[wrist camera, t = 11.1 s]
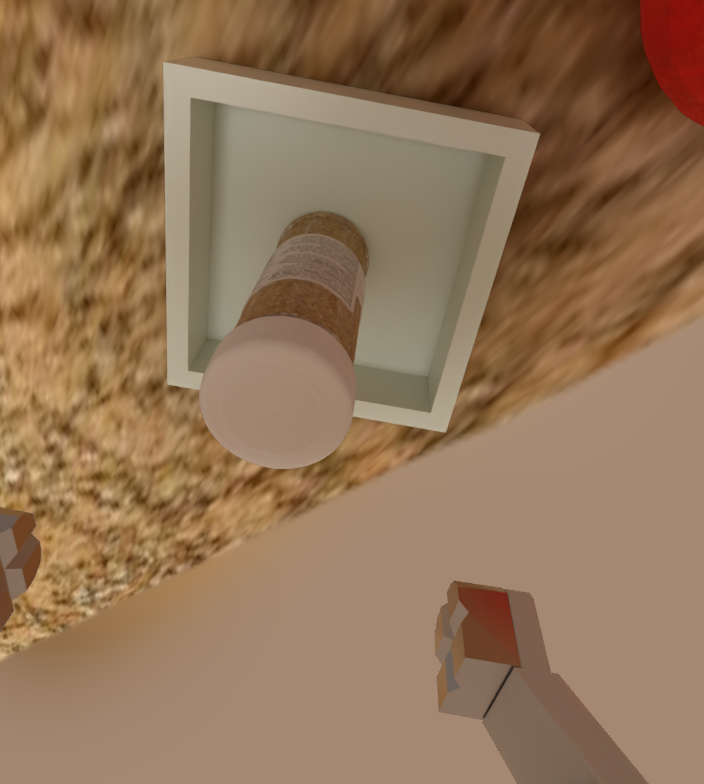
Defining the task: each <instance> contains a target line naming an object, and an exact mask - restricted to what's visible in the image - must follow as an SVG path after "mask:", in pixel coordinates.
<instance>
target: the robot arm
mask: <svg viewBox="0 0 704 784" xmlns="http://www.w3.org/2000/svg"><path fill="white" fill-rule="evenodd" d="M35 527H36V523H35V519H34V515H33V514H32V513H28V512H23V511H18V510H12V509H7V508H2V507H0V631H1V630H2V628H3V627H4V625H5V624H6V622H7V621H8V619H9V618H10V616H11V614H12V613H13V611H14V609H13V602H12V599H13V598H15V597H17V596H18V595H20V594H22V593H23V592H25V591H27V589H28V588H29V586H30V585H31V583H32V581H33V580H34V578H35V576H36V573H37V570H38V567H39V565H40V562H41V546H40V541H39V540H37V539H36V538H35V537H34V536H33V535H32V534H31V533H32V531H33V530H34V528H35ZM447 597H448V603H447V604H445V605H443V606H442V607H441V609H440V612H439V615H438V618H437V624H436V629H435V655H436V657H437V658H438V659H439V661H440V662H441V664H442V666H441V669H440V671H439V673H438V675H437V688H438V689H437V690H438V705H439V712H442V713H448V714H453V715H459V716H465V717H470V718H475V719H480V720H483V722H482V723H483V724H484V726H485V728H486V729H487V731H488V733H489V735H490V737H491V738H492V740H493V742H494V744H495V745H496V747H497V749H498V751H499V752H500V754H501V756H502V758H503V759H504V761H505V763H506V765H507V767H508V768H509V770H510V772H511V774H512V775H513V777H514V779H515V781H516V782H517V784H648V782H647V781H646V780H645V779H644V777H643V776H642V775H641V774H640V773H639V771H638V770H637V769H636V768H635V767H634V765H633V764H632V763H631V762H630V760H629V759H628V758H627V757H626V756H625V754H624V753H623V752H622V751H621V750H620V748H619V747H618V746H617V745H616V744H615V742H614V741H613V740H612V739H611V737H610V736H609V735H608V734H607V732H606V731H605V730H604V729H603V728H602V726H601V725H600V724H599V723H598V722H597V720H596V719H595V718H594V717H593V716H592V714H591V713H590V712H589V711H588V709H587V708H586V707H585V706H584V704H583V703H582V702H581V701H580V700H579V698H578V697H577V696H576V695H575V694H574V692H573V691H572V690H571V689H570V687H569V686H568V685H567V684H566V683H565V681H564V680H563V679H562V678H561V677H560V675H559V674H555V673H551V671H550V667H549V662H548V658H547V654H546V650H545V646H544V641H543V637H542V633H541V629H540V625H539V621H538V616H537V612H536V608H535V603H534V599H533V597H532V596H531V594H530V593H527V592H520V591H514V590H508V589H502V588H499V587H492V586H485V585H479V584H472V583H465V582H459V581H453V582H452V583H451V584H450V587H449V589H448V592H447Z"/></svg>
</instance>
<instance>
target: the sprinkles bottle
mask: <svg viewBox="0 0 704 784" xmlns="http://www.w3.org/2000/svg"><path fill="white" fill-rule="evenodd" d="M368 267H369V254H368V248H367V246H366V243H365V240H364V238H363V237H362V235H361V234H360V232H359V231H358V230H357V228H356V227H355V226H354V224H353V223H351V222H349V221H347V220H346V219H344V218H343V217H341V216H338V215H336V214H333V213H329V212H319V211H318V212H314V213H308V214H305V215H303V216H301V217H299V218H297V219H296V220H294V221H293V222H291V223H290V224H289V225H288V226H287V227H286V228H285V230H284V232H283V234H282V235H281V237H280V239H279V242H278V244H277V249H276V250H275V252H274V253H273V254H272V256H271V257H270V259H269V261H268V263H267V265H266V266H265V268H264V270H263V272H262V274H261V276H260V278H259V280H258V282H257V283H256V285H255V287H254V289H253V291H252V292H251V294H250V296H249V298H248V300H247V301H246V303H245V305H244V307H243V309H242V312H241V316H240V319H239V321H238V323H237V325H236V326H235V328H234V329H233V330H232V331H230V332H229V333H228V334H227V335H226V336H225V337H224V338H223V340H222V341H221V342H220V344H219V345H218V347H217V349H216V351H215V353H214V354H213V356H212V358H211V360H210V362H209V364H208V366H207V369H206V371H205V373H204V375H203V378H202V381H201V385H200V392H199V401H200V409H201V413H202V416H203V419H204V421H205V423H206V425H207V427H208V429H209V430H210V432H211V433H212V435H213V436H214V437H215V438H216V439H217V441H218V442H219V443H220V444H221V445H222V446H223V447H225V448H226V449H227V450H228V451H230V452H231V453H233V454H234V455H236V456H237V457H239V458H241V459H243V460H245V461H248V462H250V463H253V464H256V465H259V466H263V467H268V468H274V469H291V468H299V467H304V466H307V465H310V464H313V463H316V462H318V461H320V460H322V459H324V458H325V457H327V456H328V455H330V454H331V453H332V452H333V451H334V450H336V448H337V447H338V446H339V445H340V444H341V443H342V441H343V440H344V438H345V437H346V435H347V433H348V431H349V428H350V426H351V422H352V418H353V411H354V405H355V396H356V375H355V371H354V368H353V365H354V359H355V352H356V346H357V338H358V330H359V325H360V322H361V317H362V309H363V302H364V293H365V277H366V274H367V271H368Z"/></svg>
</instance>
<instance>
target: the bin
mask: <svg viewBox="0 0 704 784" xmlns="http://www.w3.org/2000/svg"><path fill="white" fill-rule="evenodd" d="M163 80H164V154H165V229H166V303H167V378H168V385H174V386H179V387H185V388H191V389H197V390H200V385H201V381H202V378H203V375H204V373H205V371H206V369H207V366H208V364H209V362H210V360H211V358H212V356H213V354H214V353H215V351H216V349H217V347H218V345H219V344H220V342H221V341H222V340H223V338H224V337H225V336H226V335H227V334H228V333H229V332H230V331H232V330H233V329H234V328H235V326H236V325H237V323H238V321H239V319H240V316H241V312H242V309H243V307H244V305H245V303H246V301H247V300H248V298H249V296H250V294H251V292H252V291H253V289H254V287H255V285H256V283H257V282H258V280H259V278H260V276H261V274H262V272H263V270H264V268H265V266H266V265H267V263H268V261H269V259H270V257H271V256H272V254H273V253H274V252H275V250H276V249H277V244H278V242H279V239H280V237H281V235H282V234H283V232H284V230H285V228H286V227H287V226H288V225H289V224H290V223H291V222H293V221H294V220H296V219H297V218H299V217H301V216H303V215H305V214H308V213H314V212H318V211H319V212H329V213H333V214H336V215H338V216H341V217H343V218H344V219H346V220H347V221H349V222H351V223H353V224H354V226H355V227H356V228H357V230H358V231H359V232H360V234H361V235H362V237H363V238H364V240H365V243H366V246H367V248H368V254H369V267H368V271H367V274H366V277H365V293H364V302H363V309H362V317H361V322H360V325H359V330H358V338H357V346H356V352H355V359H354V365H353V368H354V371H355V375H356V396H355V405H354V411H353V417H358V418H364V419H370V420H376V421H382V422H387V423H393V424H399V425H405V426H411V427H416V428H422V429H428V430H434V431H439V432H445V433H446V430H447V427H448V424H449V421H450V418H451V414H452V411H453V408H454V405H455V402H456V399H457V395H458V392H459V389H460V386H461V383H462V380H463V376H464V373H465V370H466V367H467V364H468V361H469V358H470V354H471V351H472V348H473V345H474V342H475V339H476V335H477V332H478V329H479V326H480V323H481V320H482V316H483V313H484V310H485V307H486V304H487V301H488V297H489V294H490V291H491V288H492V285H493V282H494V278H495V275H496V272H497V269H498V266H499V263H500V259H501V256H502V253H503V250H504V247H505V244H506V240H507V237H508V234H509V231H510V228H511V225H512V222H513V218H514V215H515V212H516V209H517V206H518V203H519V199H520V196H521V193H522V190H523V187H524V184H525V180H526V177H527V174H528V171H529V168H530V165H531V161H532V158H533V155H534V152H535V149H536V146H537V142H538V139H539V136H540V133H539V132H537V131H536V130H535V129H533V128H532V127H531V126H529V125H528V124H527V123H525V122H524V121H523V120H521V119H518V118H513V117H507V116H502V115H497V114H492V113H487V112H481V111H476V110H471V109H466V108H460V107H455V106H450V105H445V104H440V103H434V102H429V101H424V100H419V99H413V98H408V97H403V96H398V95H393V94H387V93H382V92H377V91H372V90H366V89H361V88H356V87H351V86H346V85H340V84H335V83H330V82H325V81H319V80H314V79H309V78H304V77H299V76H293V75H288V74H283V73H278V72H272V71H267V70H262V69H257V68H252V67H246V66H241V65H236V64H231V63H225V62H220V61H215V60H210V59H205V58H199V57H191V58H185V59H178V60H172V61H165V62H163Z"/></svg>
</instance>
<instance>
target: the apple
mask: <svg viewBox="0 0 704 784" xmlns="http://www.w3.org/2000/svg"><path fill="white" fill-rule="evenodd" d="M640 26H641V36H642V41H643V45H644V49H645V54H646V56H647V58H648V61H649V63H650V65H651V68H652V70H653V72H654V75H655V77H656V79H657V82H658V84H659V86H660V87H661V89H662V90H663V91H664V92H665V94H666V95H667V96H668V97H669V98H670V100H671V101H672V102H673V103H674V105H675V106H676V107H677V108H678V109H679V111H680V112H681V113H682V114H684V115H685V116H687V117H688V118H690V119H691V120H693V121H695V122H696V123H698V124H700V125H702V126H704V0H640Z"/></svg>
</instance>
